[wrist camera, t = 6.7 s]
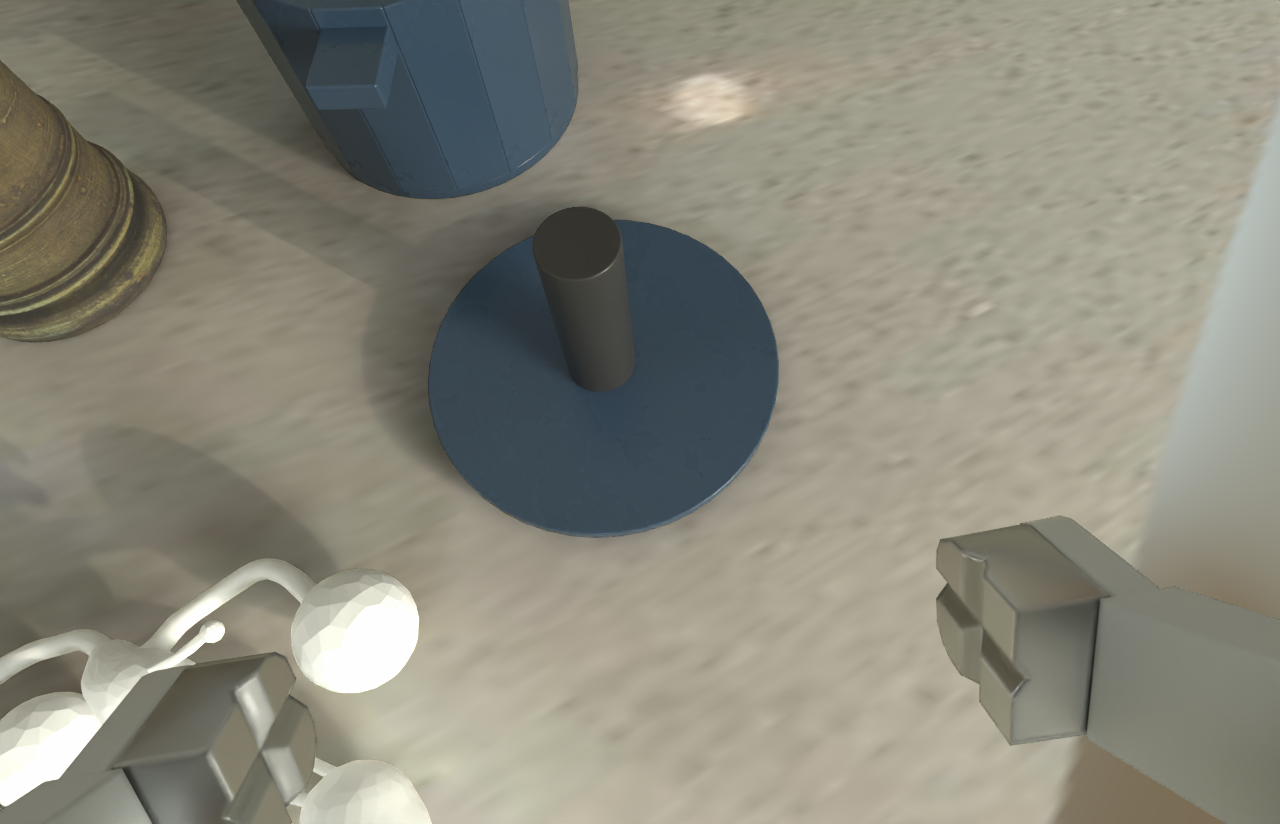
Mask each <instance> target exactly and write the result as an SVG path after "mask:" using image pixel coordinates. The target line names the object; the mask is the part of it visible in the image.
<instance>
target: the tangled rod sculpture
mask: <svg viewBox="0 0 1280 824" xmlns="http://www.w3.org/2000/svg"><path fill="white" fill-rule="evenodd" d="M266 579H268V580H271V581H274V582H277V583H279V584H280V585H282V586H283V587H284V588H286V589H287V590H288V591H289V592H290V593H291V594H292V595H293V596H294V597H295V598H296V599H297V600H298V601H299V602H300V604H301V605H300V606H299V608H298V610H297V612H296V614H295V617H294V620H293V623H292V627H291V644H292V651H293V654H294V657H295V660H296V663H297V664H298V666H299V667H300V669H301V670H302V672H303V673H304V675H305V676H306V677H307V678H308V679H309V680H311V681H312V682H313V683H314V684H316V685H319V686H321V687H323V688H325V689H327V690H331V691H334V692H338V693H360V692H364V691H367V690H370V689H374V688H377V687H378V686H380V685H382V684H384V683H385V682H387V681H389V680H390V679H391V678H393V677H394V676H395V675H397V674H398V672H399V671H400V670H401V669H402V668H403V667H404V665H405V664H406V662H407V661H408V659H409V657H410V655H411V654H412V652H413V651H414V648H415V646H416V643H417V639H418V626H419V616H418V612H417V607H416V604H415V602H414V600H413V598H412V596H411V594H410V592H409V590H408V589H407V588H406V587H404V586H403V585H402V584H401V583H400V582H399V581H398V580H396V579H395V578H394V577H392V576H390V575H389V574H387V573H384V572H380V571H377V570H372V569H363V568H355V569H350V570H346V571H342V572H338V573H336V574H334V575H331V576H329V577H327V578H325V579H323V580H322V581H321V582H319V583H318V584H316V583H315V582H314V581H313V580H311V579H310V578H309V577H308V576H307V575H306V574H305V573H304V572H303V571H302V570H300V569H299V568H297V567H295V566H293V565H291V564H290V563H288V562H286V561H284V560H280V559H272V558H264V559H258V560H253V561H252V562H250V563H248V564H246V565H244V566H242V567H241V568H239V569H237V570H236V571H234V572H233V573H231V574H230V575H228V576H227V577H225V578H224V579H222V580H221V581H219V582H218V583H216V584H215V585H213V586H212V587H210V588H209V589H207V590H206V591H204V592H203V593H201V594H200V595H198V596H197V597H196V598H194V599H193V600H191V601H190V602H189V603H187V604H186V605H184V606H183V607H182V608H180V609H179V610H177V611H176V612H175V613H173V614H172V615H171V616H169V617H168V619H167V620H166V621H165V622H164V623H163V624H162V625H161V627H160V628H159V629H158V630H157V631H156V632H155V633H154V635H153V636H152V637H151V638H150V639H149V640H148V641H147V642H145V643H144V644H143V645H142V646H140V647H139V646H138V645H136V644H133V643H131V642H128V641H126V640H120V639H114V640H111V639H110V638H109V637H107V636H105V635H103V634H101V633H100V632H98V631H95V630H88V629H77V630H73V631H70V632H66V633H63V634H59V635H55V636H51V637H48V638H44V639H40V640H36V641H33V642H30V643H28V644H26V645H24V646H22V647H20V648H18V649H16V650H14V651H12V652H10V653H8V654H6V655H4V656H3V657H1V658H0V685H1V684H3V683H4V682H5V681H7V680H8V679H9V678H11V677H12V676H14V675H15V674H16V673H18V672H19V671H21V670H23V669H25V668H27V667H29V666H31V665H33V664H35V663H37V662H39V661H42V660H46V659H49V658H53V657H57V656H60V655H64V654H67V653H71V652H75V651H79V652H84V653H85V654H87V655H88V656H89V658H88V661H87V664H86V667H85V670H84V673H83V676H82V679H81V689H82V693H83V694H80V693H75V692H54V693H49V694H45V695H40V696H37V697H34V698H32V699H30V700H28V701H26V702H24V703H22V704H20V705H18V706H17V707H15V708H14V709H12V710H11V711H9V712H8V713H7V714H6V715H5V716H4V717H3V718H2V719H1V720H0V804H1V805H3V806H8V805H10V804H11V803H13V802H14V801H16V800H17V799H19V798H20V797H22V796H23V795H25V794H26V793H28V792H29V791H31V790H32V789H34V788H35V787H37V786H38V785H40V784H41V783H43V782H45V781H50V780H56V779H59V778H60V776H61V775H62V774H63V773H64V771H65V770H66V769H67V768H68V767H69V765H70V764H71V763H72V762H73V760H74V759H75V758H76V757H77V756H78V754H79V753H80V752H81V751H82V749H83V748H84V747H85V746H86V744H87V743H88V742H89V741H90V740H91V738H92V737H93V736H94V735H95V733H96V732H97V731H98V730H99V728H100V727H101V726H102V725H103V724H104V722H105V721H106V720H107V719H108V717H109V716H110V715H111V714H112V713H113V711H114V710H115V709H116V708H117V706H118V705H119V704H120V703H121V701H122V700H123V699H124V698H125V697H126V695H127V694H128V693H129V692H130V690H131V689H132V688H133V687H134V685H135V684H136V683H137V682H138V681H139V679H140V678H141V677H142V676H144V675H147V674H149V673H151V672H154V671H156V670H162V669H168V668H173V667H179V666H185V665H195V663H194V662H193V661H191V660H189V659H187V657H188V656H189V655H191V654H192V653H194V652H195V651H196V650H197V649H198V648H199V647H200V646H201V645H203V644H204V643H205V642H208V643H215V642H217V641H219V640H220V639H221V638H222V636H223V635H224V632H225V628H224V625H223V623H222V622H220V621H217V620H213V621H208V622H206V623H205V624H204V625H203V626H202V627H201V629H200V632H199V634H198V635H197V636H196V637H194V638H193V639H192V640H191V641H189V642H188V643H187V644H186V645H184V646H183V647H182V648H181V649H179V650H178V651H177V652H176V653H173V652H170V650H171V649H172V647H173V646H174V645H175V644H176V643H177V641H178V640H179V639H180V638H181V637H182V636H183V634H184V633H185V632H186V631H187V630H188V629H190V628H191V627H192V626H193V625H194V624H196V623H197V622H198V621H199V620H201V619H202V618H204V617H205V616H207V615H208V614H210V613H211V612H213V611H214V610H215V609H217V608H218V607H220V606H221V605H223V604H224V603H226V602H227V601H229V600H230V599H232V598H233V597H235V596H236V595H238V594H239V593H241V592H242V591H244V590H245V589H247V588H249V587H250V586H252V585H253V584H255V583H256V582H258V581H262V580H266ZM313 772H315V773H317V774H319V775H321V776H323V778H322V779H321V780H320V781H319V783H318V784H317V785H316V786H315V787H314V788H313V789H312V790H311V791H310V792H309V794H307V793H303V792H301V793H300V794H299V795H298V796H297V797H296V798H295V799H294V800H293V801H292V802H291V803H290V804H292V805H296V806H300V807H302V809H301V813H300V824H432V823H431V819H430V817H429V814H428V811H427V809H426V807H425V805H424V804H423V802H422V800H421V798H420V797H419V795H418V793H417V792H416V790H415V788H414V787H413V785H412V784H411V782H410V781H409V779H408V778H407V776H406V775H405V774H404V773H403V772H401V771H400V770H399V769H398V768H396V767H394V766H393V765H391V764H389V763H387V762H382V761H378V760H354V761H351V762H349V763H346V764H344V765H341V766H339V767H335V766H333V765H331V764H329V763H327V762H325V761H323V760H320V759H318V758H316V757H315V763H314V769H313Z"/></svg>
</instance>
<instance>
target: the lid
mask: <svg viewBox="0 0 1280 824" xmlns="http://www.w3.org/2000/svg"><path fill="white" fill-rule="evenodd" d="M778 376H779V360H778V353H777V346H776V340H775V337H774V333H773V330H772V326H771V323H770V320H769V318H768V316H767V314H766V311H765V309H764V307H763V305H762V303H761V301H760V300H759V298H758V297H757V295H756V293H755V292H754V290H753V289H752V287H751V286H750V285H749V283H748V282H747V281H746V280H745V279H744V277H743V276H742V275H741V274H740V273H739V272H738V270H736V269H735V268H734V267H733V266H732V265H731V264H730V263H729V262H728V261H726V260H725V259H724V258H723V257H722V256H720V255H719V254H718V253H716V252H715V251H713V250H712V249H710V248H709V247H708V246H706V245H704V244H702V243H700V242H699V241H697V240H695V239H693V238H691V237H689V236H687V235H684V234H682V233H679V232H677V231H674V230H671V229H669V228H665V227H661V226H657V225H653V224H650V223H643V222H636V221H629V220H612V219H611V218H610V217H609V216H608V215H606V214H605V213H603V212H601V211H599V210H596V209H593V208H588V207H572V208H567V209H564V210H561V211H558V212H556V213H554V214H553V215H551V216H550V217H548V218H547V219H546V220H545V221H544V222H543V223H542V224H541V225H540V226H539V228H538V229H537V231H536V233H535V235H534V236H532V237H530V238H527V239H525V240H523V241H522V242H520V243H518V244H516V245H514V246H512V247H511V248H509V249H507V250H506V251H504V252H503V253H501V254H500V255H499V256H497V257H496V258H494V259H493V260H491V261H490V262H489V263H488V264H487V265H486V266H485V267H484V268H482V269H481V270H480V271H479V272H478V273H477V274H476V275H475V276H474V277H473V278H472V279H471V280H470V281H469V283H468V284H467V285H466V286H465V287H464V288H463V289H462V291H461V292H460V293H459V295H458V296H457V298H456V299H455V301H454V302H453V303H452V305H451V306H450V308H449V310H448V312H447V314H446V316H445V318H444V320H443V322H442V324H441V326H440V329H439V331H438V334H437V337H436V340H435V342H434V346H433V351H432V355H431V360H430V365H429V379H428V390H429V404H430V409H431V413H432V418H433V422H434V426H435V429H436V431H437V434H438V436H439V439H440V442H441V444H442V446H443V448H444V450H445V451H446V453H447V455H448V457H449V458H450V460H451V462H452V464H453V465H454V466H455V467H456V469H457V470H458V471H459V473H460V474H461V475H462V476H463V478H464V479H465V480H466V481H467V482H468V484H469V485H470V486H471V487H472V488H474V489H475V490H476V491H477V492H478V493H479V494H480V495H481V496H482V497H483V498H484V499H485V500H487V501H488V502H490V503H491V504H492V505H494V506H495V507H497V508H498V509H499V510H501V511H502V512H504V513H506V514H508V515H510V516H512V517H514V518H515V519H517V520H519V521H521V522H523V523H526V524H528V525H531V526H534V527H537V528H540V529H543V530H546V531H549V532H554V533H559V534H564V535H569V536H579V537H593V538H599V537H616V536H625V535H630V534H635V533H640V532H646V531H649V530H652V529H655V528H658V527H661V526H664V525H667V524H670V523H672V522H674V521H676V520H678V519H680V518H682V517H684V516H686V515H688V514H691V513H692V512H694V511H695V510H697V509H698V508H700V507H702V506H703V505H705V504H706V503H708V502H709V501H711V500H712V499H713V498H714V497H716V496H717V495H718V494H719V493H720V492H721V491H723V490H724V489H725V488H726V487H727V486H728V485H730V484H731V482H732V481H733V480H734V479H735V478H736V477H737V476H738V475H739V473H740V472H741V471H742V470H743V469H744V468H745V467H746V465H747V464H748V462H749V461H750V459H751V458H752V456H753V455H754V453H755V452H756V450H757V449H758V447H759V445H760V443H761V440H762V438H763V436H764V434H765V432H766V430H767V428H768V425H769V421H770V418H771V415H772V412H773V409H774V405H775V401H776V395H777V388H778Z"/></svg>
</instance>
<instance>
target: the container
mask: <svg viewBox="0 0 1280 824" xmlns="http://www.w3.org/2000/svg"><path fill="white" fill-rule="evenodd" d="M166 234H167V233H166V220H165V216H164V213H163V210H162V208H161V206H160V203H159V202H158V200H157V198H156V196H155V195H154V193H153V192H152V190H151V189H150V188H149V187H148V185H147V184H146V183H145V182H144V181H143V180H142V179H140V178H139V177H138V176H137V175H135V174H134V173H132V172H131V171H129V170H128V169H126V168H125V167H124V166H123V164H122V163H121V161H120V160H119V159H118V158H117V157H116V156H115V155H113V154H112V153H111V152H109V151H108V150H107V149H105V148H103V147H101V146H99V145H97V144H94V143H91V142H89V141H86V140H85V139H84V138H83V137H82V136H81V135H80V134H79V133H78V132H77V131H76V130H75V129H74V128H73V127H72V126H71V125H70V123H69V122H68V120H67V119H66V118H65V116H64V115H63V114H62V112H61V111H60V110H59V109H58V108H57V107H55V106H54V105H53V104H51V103H50V102H49V101H47V100H46V99H45V98H43V97H41V96H40V95H37V94H35V93H34V92H33V91H32V90H31V89H30V88H29V87H28V86H27V85H26V84H25V83H24V82H23V81H22V80H21V79H19V78H18V77H17V76H16V75H15V74H14V73H13V72H12V71H11V70H10V69H9V68H8V67H7V66H6V65H5V64H3V63H2V62H1V61H0V337H3V338H7V339H12V340H16V341H22V342H49V341H55V340H61V339H65V338H69V337H73V336H76V335H79V334H81V333H84V332H86V331H88V330H91V329H93V328H95V327H97V326H99V325H101V324H102V323H104V322H106V321H107V320H109V319H111V318H112V317H114V316H115V315H117V314H118V313H119V312H121V311H122V310H123V309H124V308H126V307H127V306H128V305H129V304H130V303H131V302H132V301H133V300H134V299H135V298H136V297H137V296H138V295H139V294H140V293H141V292H142V290H143V289H144V288H145V287H146V286H147V284H148V283H149V281H150V280H151V278H152V276H153V275H154V273H155V271H156V269H157V267H158V266H159V264H160V261H161V259H162V256H163V253H164V249H165V244H166Z"/></svg>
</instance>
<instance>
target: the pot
mask: <svg viewBox="0 0 1280 824" xmlns="http://www.w3.org/2000/svg"><path fill="white" fill-rule="evenodd" d="M237 2H238V4H239V5H240V7H241V9H242V10H243V12H244V14H245V15H246V17H247V18H248V20H249V22H250V23H251V25H252V27H253V28H254V30H255V32H256V33H257V35H258V37H259V38H260V40H261V42H262V43H263V45H264V46H265V48H266V50H267V51H268V53H269V55H270V56H271V58H272V60H273V61H274V63H275V65H276V66H277V68H278V70H279V71H280V73H281V74H282V76H283V78H284V79H285V81H286V83H287V84H288V86H289V88H290V89H291V91H292V93H293V94H294V96H295V98H296V99H297V101H298V102H299V104H300V106H301V107H302V109H303V111H304V112H305V114H306V116H307V117H308V119H309V121H310V122H311V124H312V125H313V127H314V129H315V130H316V132H317V134H318V135H319V137H320V139H321V140H322V142H323V144H324V145H325V147H326V148H327V149H328V150H329V151H330V152H331V153H332V154H333V155H334V156H335V158H336V159H337V160H338V162H339V163H340V164H341V165H342V166H343V167H344V168H345V169H346V170H347V171H348V172H349V173H351V174H352V175H353V176H354V177H356V178H357V179H359V180H361V181H362V182H364V183H366V184H367V185H369V186H371V187H374V188H376V189H379V190H381V191H384V192H387V193H391V194H394V195H398V196H404V197H411V198H421V199H440V198H453V197H458V196H464V195H470V194H473V193H477V192H480V191H484V190H487V189H490V188H492V187H495V186H497V185H500V184H502V183H504V182H506V181H508V180H510V179H512V178H514V177H516V176H518V175H520V174H521V173H523V172H524V171H526V170H527V169H529V168H530V167H531V166H533V165H534V164H535V163H537V162H538V161H539V160H540V159H541V158H542V157H544V156H545V155H546V154H547V153H548V152H549V151H550V150H551V148H552V147H553V146H554V145H555V144H556V143H557V142H558V140H559V139H560V137H561V136H562V135H563V133H564V132H565V130H566V128H567V126H568V124H569V122H570V120H571V118H572V116H573V112H574V109H575V106H576V102H577V95H578V77H577V71H578V63H577V56H576V49H575V43H574V36H573V30H572V23H571V16H570V10H569V3H568V0H237Z"/></svg>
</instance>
